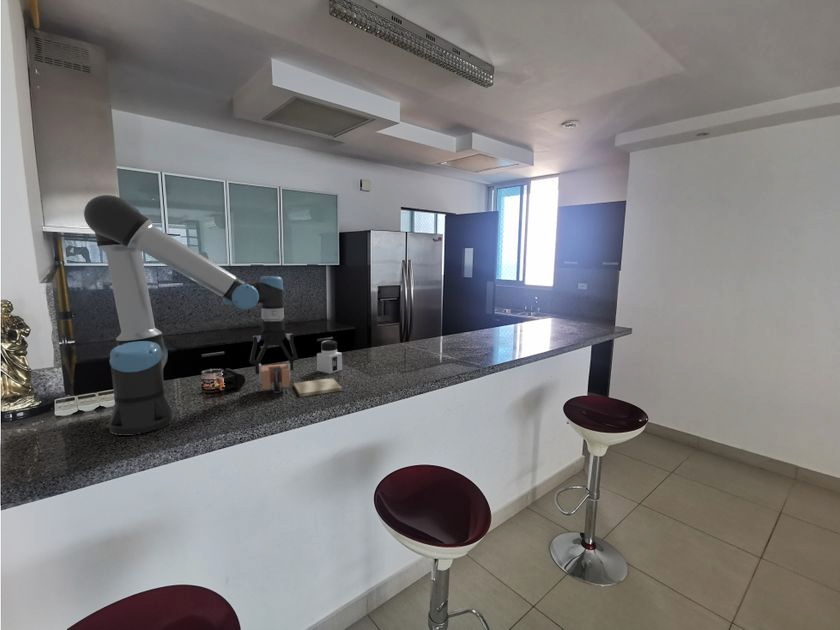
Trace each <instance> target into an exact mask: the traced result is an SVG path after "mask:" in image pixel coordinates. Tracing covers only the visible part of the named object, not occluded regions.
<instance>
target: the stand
mask: <svg viewBox="0 0 840 630" xmlns="http://www.w3.org/2000/svg"><path fill="white" fill-rule="evenodd" d="M273 378H274V383H273V390H272V393H273V394H276V395H277V394H281V392H282V389H281V382H280V379H279V368H278V367H275V368H273Z"/></svg>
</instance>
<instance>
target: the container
mask: <svg viewBox="0 0 840 630" xmlns="http://www.w3.org/2000/svg"><path fill="white" fill-rule="evenodd" d="M316 368H317V372H321V373H324V374H328V375H329V374H333V373H336V372H337V373H338V372H340V371H342V370H343V353H342V352H339V351H338V342H337V341H335V340H330V339H329V340H324V341H322V342H321V352H318V353H317V354H316Z"/></svg>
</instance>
